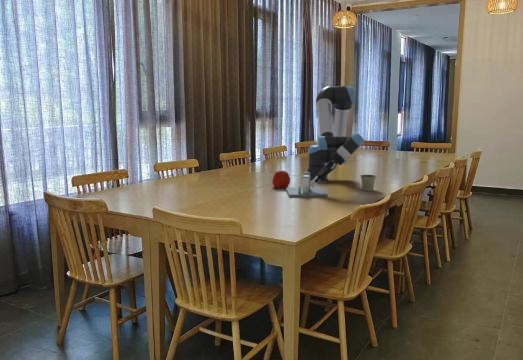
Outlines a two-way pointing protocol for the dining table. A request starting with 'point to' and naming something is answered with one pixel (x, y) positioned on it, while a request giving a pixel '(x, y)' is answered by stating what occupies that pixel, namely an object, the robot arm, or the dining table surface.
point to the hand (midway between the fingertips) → (310, 185)
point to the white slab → (306, 181)
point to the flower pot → (368, 182)
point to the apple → (281, 179)
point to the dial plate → (311, 190)
